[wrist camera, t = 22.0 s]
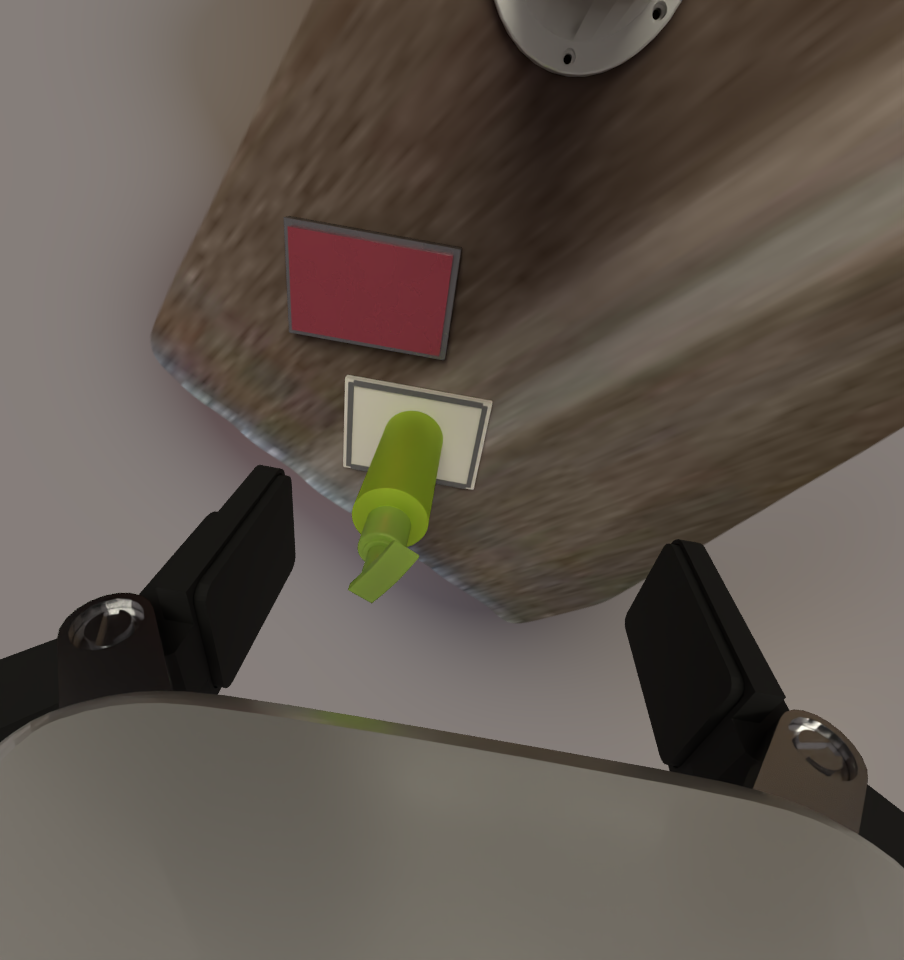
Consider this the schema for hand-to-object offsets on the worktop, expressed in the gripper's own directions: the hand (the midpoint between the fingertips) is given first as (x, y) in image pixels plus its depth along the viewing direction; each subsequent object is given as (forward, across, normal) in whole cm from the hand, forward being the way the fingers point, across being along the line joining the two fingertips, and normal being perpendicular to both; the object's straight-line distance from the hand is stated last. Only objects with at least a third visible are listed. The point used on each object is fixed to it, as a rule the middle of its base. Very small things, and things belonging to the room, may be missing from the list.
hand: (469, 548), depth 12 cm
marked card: (+32, +5, +15) cm, 36 cm away
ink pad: (+32, +10, +2) cm, 34 cm away
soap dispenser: (+32, +5, +14) cm, 35 cm away
